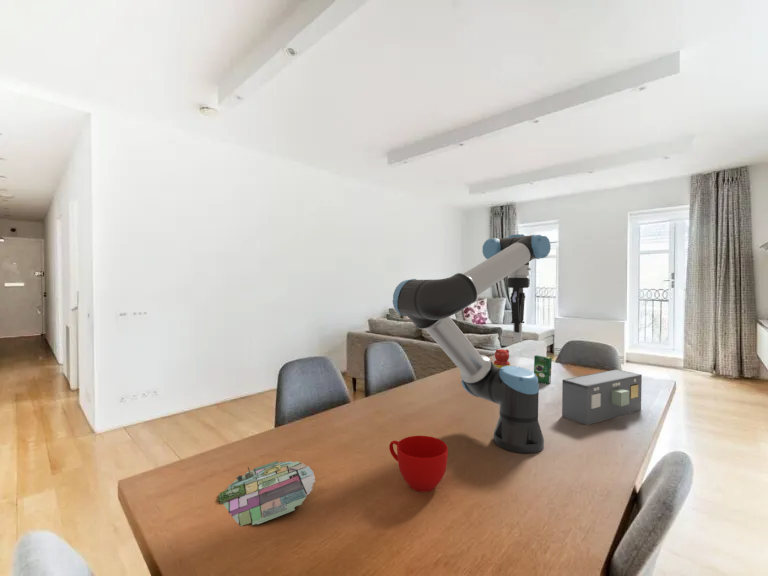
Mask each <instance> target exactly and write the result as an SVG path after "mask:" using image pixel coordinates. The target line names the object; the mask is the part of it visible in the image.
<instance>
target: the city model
mask: <svg viewBox="0 0 768 576" xmlns="http://www.w3.org/2000/svg"><path fill="white" fill-rule="evenodd" d="M247 470H248V471H247V472H245V473H244V475H238V476H236V479H235V480H234V481H233V482H232V483H231V484H229V485H228V488H226V489H225V490H223V491H221V492H219V493H218V498H217V501H219V504H223V506H224V507H225V508H226V510H227V512H228V513H229V517H230V516H231V517H232V519H234V521H235V522H236V524H238V525H239V526H240V527H243V526H245V525H249V524H251V526H254V525H260V524H263V523H265V522H268V521H270V520H273V519H276V518H279V517H280V516H283V515H286V514H288V513H291V512H294V511H295V510H296V509H295V508H296V507H298V506H301V505H303V502H304V500H306V498H307V495H309V494H310V493H311V492H312V491H313V490H314V489H313V487H314V483H316V480H315V479H316V477H315V473H314V471H313V470H312V469H311V467H310V466H309V465H307V466H306V464H305V463H303V462H299V460H297V461H295V462H294V461H283V460H282V461H279V460H276V461H273V462H269V463H266V464H263V465H261V466H260V465H259V466H258V467H255V468H253V469H252V470H250V467H249V466H247Z"/></svg>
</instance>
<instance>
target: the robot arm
mask: <svg viewBox="0 0 768 576" xmlns="http://www.w3.org/2000/svg"><path fill="white" fill-rule="evenodd" d="M550 252H551V242H550V239H549V237H548V236H547V235H545V234H531V235H530V234H529V235H528V234H510V235H508V236H507V237H506V238H505V237H504V238H496V237H494V238H488V239H486V240H485V241H484V243H483V245H482V254H483V256H484V259H485V260H484V261H482V262H480V263H479V264H477V265H475V266H473V267H472V268H471V269H468V270H467V271H465V272H464V273H462V272H457V273H455V274H453V275H452V276H449V277H446V278H440V279H439V278H438V279H417V278H410V279H405V280H402V281H401V282H400V283H398V285H397V286H396V287H395V289H394V290H393V294H392V305H393V309H394V310H395V311H396V312H397V314H399V315H400V316H402V317H407V318H408V319H409V320H410V321H411V322H412V323H413V324H414V325H415V326H414V327H416V328H417V329H419V330H425V331H426V332H427V333H428V335H430V337H431V338H432V340H434V341H435V342H436V344H437V345H438V346H439V348H440V349H441V350H442V351H443V352H444V353H445V354H446V355H447V356H448V358H449V359H450V360H451V361H452V363H454V365H455V366H456V367H457V368H458V369H459V370H460V371H459V372H460V373H459V375H460V379H461V381H460V382H461V385H462V387H463V389H464V390H465V391H466V392H467V393H469V394H470V395H472V396H474V397H476V398H481V399H484V400H486V401H489V402H492V403H494V404H497V405H499V417H498V420H497V422H496V425H495V428H494V431H493V442H494V443H495V444H496V446H498V447H500V448H502V449H504V450H507V451H510V452H513V453H520V454H534V453H538V452H541V451H543V450H544V448H545V438H544V435H543V431H542V429H541V426H540V423H539V391H540V386H539V382H538V378H537V376H536V374H535V373H534V371H532V370H530V369H528V368H525V367H520V366H515V365H511V366H504V367H502V368H498V367H496V366H495V365H494V362H493V361H492V360H491V359H490V358H489V356H487V355H484V354H481V353H479V351H478V350H477V349H476V347H474V345H473V344H472V343H471V341H470V340H469V339H468V338H467V336H466V335H465V334H464V333H463V331H462V330H461V329H460V327H458V325H457V324H456V323H455V322H454V320H453V319H452V318H451V316H453V315H455V314H457V313H459V312H461V311H462V310H464V309H466V308H468V307H469V306H470V305H472V304H474V303H475V302H476V301H477V299H478V296H479V295H481V294H483V293H484V292H485V291H487V290H488V289H490V288H492V287H493V286H495V284H497V283H499V282H500V281H501V280H503V279H505V278H506V277H508V278H507V279H506V281H507V284H506V285H507V288H508V289H510V288H511V289H512V292H511V294H510V298H509V300H510V302H511V303H510V308H511V322H510V323H511V324H513V332H512V333H513V341H514V342H522V341H523V324H524V323H525V321H524V318H525V317H524V315H525V301H526V295H525V292H524V289H528V288H529V287H530V278H529V276H530V271H531V270H532V268H531V267H530V262H531V261H533V260H535V259H537V260H540V259H544V258H546V257H547V256H549V254H550Z"/></svg>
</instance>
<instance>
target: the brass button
mask: <svg viewBox="0 0 768 576" xmlns="http://www.w3.org/2000/svg"><path fill="white" fill-rule="evenodd" d="M636 397H638V384H634V385H630V399H632V398H636Z"/></svg>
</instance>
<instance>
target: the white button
mask: <svg viewBox="0 0 768 576" xmlns="http://www.w3.org/2000/svg"><path fill="white" fill-rule="evenodd" d="M600 405H601V393H595V394H591V409H594V408H597V407H600Z"/></svg>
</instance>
